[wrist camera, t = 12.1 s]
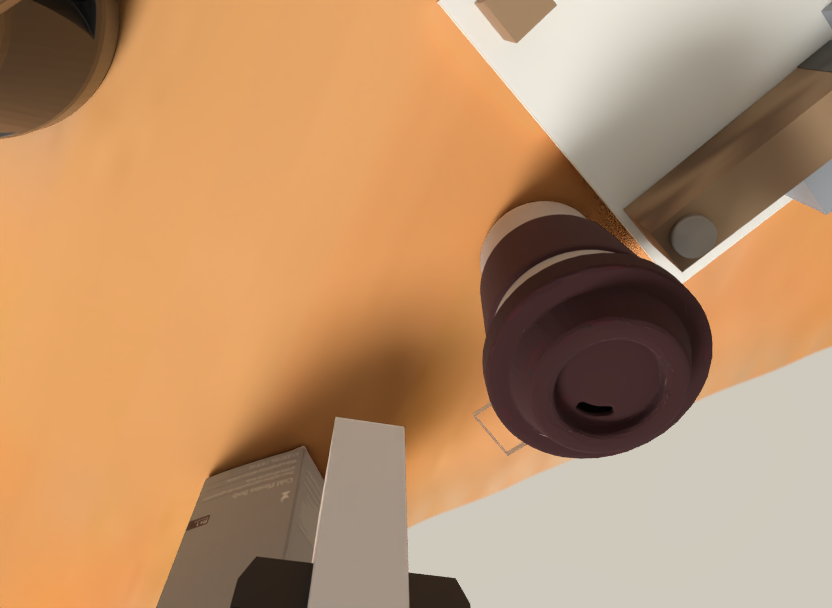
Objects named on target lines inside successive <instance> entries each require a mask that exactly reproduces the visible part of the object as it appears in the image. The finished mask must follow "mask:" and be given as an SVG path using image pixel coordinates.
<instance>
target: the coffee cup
mask: <svg viewBox="0 0 832 608" xmlns="http://www.w3.org/2000/svg"><path fill="white" fill-rule="evenodd" d="M480 268H481V275H482V277H481V286H480V293H481V302H482V309H483V317H484V324H485V332H486V339H485V344H484V349H483V374H484V379H485V383H486V387H487V391H488V395H489V399H490V402H491V404H492V407H493V409H494V411H495V413H496V414H497V416H498V417H499V419H500V420H501V422H502V423H503V424H504V425H505V427H506V428H507V429H508V430H509V431H510V432H511V433H512V434H513V435H514V436H516V437H517V438H518V439H520V440H521V441H523V442H524V443H526V444H527V445H529V446H531V447H533V448H535V449H538V450H540V451H543V452H545V453H549V454H552V455H556V456H560V457H568V458H600V457H606V456H612V455H616V454H620V453H623V452H627V451H629V450H632V449H634V448H636V447H639V446H641V445H643V444H646V443H648V442H649V441H651V440H653V439H654V438H656V437H658V436H659V435H661V434H663V433H664V432H665V431H667V430H668V429H669V428H670V427H671V426H673V425H674V424H675V423H676V422H678V420H679V419H680V418H681V417H682V416H683V415H684V414H685V412H686V411H687V410H688V409H689V408H690V407H691V406H692V404H693V403H694V401H695V400H696V398H697V397H698V395H699V393H700V392H701V390H702V388H703V386H704V384H705V381H706V379H707V377H708V373H709V368H710V364H711V360H712V335H711V330H710V326H709V322H708V320H707V317H706V314H705V312H704V311H703V309H702V307H701V305H700V304H699V302H698V301H697V299H696V298H695V297H694V296H693V295H692V294H691V293H690V291H689V290H688V289H687V288H686V287H685V286H684V285H683V284H682V283H681V282H680V281H679V280H678V279H677V278H676V277H675V276H673V275H672V274H671V273H669V272H668V271H667V270H665V269H664V268H662V267H661V266H659V265H657V264H655V263H653V262H651V261H648V260H645V259H642V258H640V257H638V256H637V255H636V254H634V253H633V252H632V251H631V250H630V249H628V248H627V247H626V246H625V245H624V244H623V243H621V242H620V241H619V240H618V239H617V238H615V237H614V236H613V235H612V234H611V233H609V232H608V231H607V230H606V229H604V228H603V227H602V226H600V225H599V224H597V223H595V222H593V221H591V220H589V219H587V218H586V217H585V216H583V215H582V214H581V213H580V212H578V211H577V210H575V209H574V208H572V207H570V206H568V205H565V204H562V203H558V202H552V201H536V202H531V203H526V204H524V205H521V206H518V207H516V208H514V209H513V210H511V211H509V212H507V213H506V214H505V215H504V216H502V217H501V218H500V219H499V220H498V221H497V222H496V223H495V224H494V225H493V227H492V228H491V229H490V231H489V233H488V234H487V236H486V238H485V240H484V243H483V246H482V250H481V255H480Z"/></svg>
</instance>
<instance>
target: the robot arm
mask: <svg viewBox="0 0 832 608" xmlns="http://www.w3.org/2000/svg"><path fill="white" fill-rule="evenodd" d="M119 22H120V3H119V0H0V139H4V138H11V137H16V136H20V135H23V134H27V133H30V132H33V131H36V130H39V129H42V128H45V127H48V126H50V125H53V124H55V123H57V122H59V121H61V120H63V119H65V118H66V117H68V116H70V115H71V114H72V113H74V112H75V111H76V110H78V109H79V108H80V107H81V106H82V105H83V104H85V103H86V102H87V100H88V99H89V98H90V97H91V96H92V95H93V94H94V92H95V91H96V90H97V88H98V87H99V85H100V84H101V82H102V81H103V79H104V77H105V75H106V73H107V71H108V69H109V66H110V64H111V62H112V59H113V55H114V52H115V48H116V44H117V39H118V33H119ZM407 542H408V540H407V502H406V463H405V427H404V426H397V425H390V424H383V423H376V422H369V421H362V420H355V419H348V418H341V417H335V423H334V429H333V435H332V441H331V446H330V452H329V458H328V464H327V470H326V476H325V482H324V488H323V494H322V500H321V505H320V511H319V517H318V524H317V531H316V538H315V544H314V551H313V558H312V563H308V562H300V561H291V560H283V559H275V558H266V557H258V556H256V557H255V559H254V560H253V561H252V562H251V563H250V565H249V566H248V567H247V568H246V569H245V571H244V572H243V573H242V574H241V575H240V577H239V578H238V579H237V583H236V587H235V590H234V594H233V598H232V601H231V605H230V608H470V603H469V601H468V599H467V598H466V596H465V594H464V592H463V591H462V589H461V587H460V585H459V584H458V582H457V580H456V579H455V578H449V577H440V576H432V575H424V574H414V573H408V543H407Z"/></svg>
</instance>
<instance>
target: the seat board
mask: <svg viewBox="0 0 832 608" xmlns="http://www.w3.org/2000/svg"><path fill="white" fill-rule="evenodd" d="M437 3H438V4H439V5H440V6H441V8H442V9H443V10H444V11H445V12H446V14H447V15H448V16H449V17H450V18H451V20H452V21H453V22H454V23H455V24H456V26H457V27H458V28H459V29H460V30H461V32H462V33H463V34H464V35H465V36H466V38H467V39H468V40H469V41H470V42H471V44H472V45H473V46H474V47H475V48H476V50H477V51H478V52H479V53H480V55H481V56H482V57H483V58H484V59H485V61H486V62H487V63H488V64H489V65H490V67H491V68H492V69H493V70H494V71H495V73H496V74H497V75H498V76H499V77H500V79H501V80H502V81H503V82H504V83H505V85H506V86H507V87H508V88H509V89H510V91H511V92H512V93H513V94H514V95H515V97H516V98H517V99H518V100H519V101H520V103H521V104H522V105H523V106H524V107H525V109H526V110H527V111H528V112H529V113H530V115H531V116H532V117H533V118H534V119H535V121H536V122H537V123H538V124H539V125H540V127H541V128H542V129H543V130H544V131H545V133H546V134H547V135H548V136H549V137H550V139H551V140H552V141H553V142H554V143H555V145H556V146H557V147H558V148H559V149H560V151H561V152H562V153H563V154H564V155H565V157H566V158H567V159H568V160H569V161H570V163H571V164H572V165H573V166H574V167H575V169H576V170H577V171H578V172H579V173H580V175H581V176H582V177H583V178H584V179H585V181H586V182H587V183H588V184H589V185H590V187H591V188H592V189H593V190H594V192H595V193H596V194H597V195H598V196H599V198H600V199H601V200H602V201H603V202H604V204H605V205H606V206H607V207H608V208H609V210H610V211H611V212H612V213H613V214H614V216H615V217H616V218H617V219H618V220H619V222H620V223H621V224H622V225H623V226H624V228H625V229H626V230H627V231H628V232H629V234H630V235H631V236H632V237H633V238H634V240H635V241H636V242H637V243H638V244H639V246H640V247H641V248H642V249H643V250H644V252H645V253H646V254H647V255H648V256H649V258H650V259H651V260H652V261H653V262H654V263H655V264H657V265H659V266H661V267H662V268H664V269H665V270H667V271H668V272H669V273H671V274H672V275H673V276H675V277H676V278H677V279H678V280H679V281H680V282H681V283H682V284H683V283H684V282H685V281H687V280H688V279H689V278H691V277H692V276H693V275H694V274H696V273H697V272H698V271H700V270H701V269H702V268H704V267H705V266H706V265H708V264H709V263H710V262H711V261H713V260H714V259H715V258H717V257H718V256H719V255H721V254H722V253H723V252H725V251H726V250H727V249H728V248H730V247H731V246H732V245H734V244H735V243H736V242H738V241H739V240H740V239H742V238H743V237H744V236H745V235H747V234H748V233H749V232H751V231H752V230H753V229H755V228H756V227H757V226H759V225H760V224H761V223H762V222H764V221H765V220H766V219H768V218H769V217H770V216H772V215H773V214H774V213H776V212H777V211H778V210H779V209H781V208H782V207H783V206H785V205H786V204H787V203H789V202H790V201H791V200H793V199H794V200H796V201H799V202H801V203H803V204H805V205H807V206H809V207H811V208H813V209H816V210H818V211H820V212H822V213H824V214H826V215H827V214H829V213H830V212H831V211H832V159H831V160H830V161H828V162H827V163H826V164H824V165H823V166H822V167H821V168H819V169H818V170H817V171H815V172H814V173H813V174H811V175H810V176H809V177H807V178H806V179H805V180H803V181H802V182H801V183H799V184H798V185H797V186H795V187H794V188H793V189H792V190H790V191H789V192H788V193H786V194H785V195H784V196H782V197H781V198H780V199H778V200H777V201H776V202H774V203H773V204H772V205H770V206H769V207H768V208H767V209H765V210H764V211H763V212H761V213H760V214H759V215H757V216H756V217H755V218H753V219H752V220H751V221H749V222H748V223H747V224H745V225H744V226H743V227H742V228H740V229H739V230H738V231H736V232H735V233H734V234H732V235H731V236H730V237H728V238H727V239H726V240H724V241H723V242H722V243H720V244H719V245H718V246H717V247H715V248H714V249H713V250H711V251H710V252H709V253H707V254H706V255H705V256H703V257H702V258H701V259H699V260H698V261H697V262H695V263H694V264H693V265H692V266H690V267H689V268H688V269H686V270H685V271H684V272H681V271H680V270H679V269H678V268H677V267H676V266H675V265H673V264H672V263H671V262H670V261H669V260H668V259H667V258H666V257H665V256H663V255H662V254H661V253H660V252H659V251H658V250H657V249H656V248H655V247H653V246H652V245H651V243H650V242H649V241H648V240H647V238H646V237H645V236H644V235H643V233H642V232H641V231H640V230H639V228H638V227H637V226H636V225H635V224H634V222H633V221H632V220H631V219H630V217H629V216H628V215H627V214H626V212H625V211H624V210H623V209H624V208H626V207H627V206H628V205H629V204H631V203H632V202H633V201H634V200H635V199H637V198H638V197H639V196H640V195H642V194H643V193H644V192H645V191H647V190H648V189H649V188H650V187H651V186H653V185H654V184H655V183H656V182H658V181H659V180H660V179H661V178H663V177H664V176H665V175H666V174H667V173H669V172H670V171H671V170H672V169H674V168H675V167H676V166H677V165H679V164H680V163H681V162H682V161H684V160H685V159H686V158H687V157H688V156H690V155H691V154H692V153H693V152H695V151H696V150H697V149H698V148H700V147H701V146H702V145H703V144H704V143H706V142H707V141H708V140H709V139H711V138H712V137H713V136H714V135H716V134H717V133H718V132H719V131H721V130H722V129H723V128H724V127H725V126H727V125H728V124H729V123H730V122H732V121H733V120H734V119H735V118H737V117H738V116H739V115H740V114H741V113H743V112H744V111H745V110H746V109H748V108H749V107H750V106H751V105H753V104H754V103H755V102H756V101H757V100H759V99H760V98H761V97H762V96H764V95H765V94H766V93H767V92H769V91H770V90H771V89H772V88H774V87H775V86H776V85H777V84H778V83H780V82H781V81H782V80H783V79H785V78H786V77H787V76H788V75H790V74H791V73H792V72H793V71H794V70H796V69H797V66H799V65H800V64H801V63H802V62H804V61H805V60H806V59H807V58H809V57H810V56H811V55H812V54H813V53H815V52H816V51H817V50H818V49H820V48H821V47H822V46H823V45H825V44H826V43H827V42H828V41H829V40H832V0H439V1H438V2H437Z"/></svg>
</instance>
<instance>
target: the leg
mask: <svg viewBox="0 0 832 608" xmlns="http://www.w3.org/2000/svg"><path fill="white" fill-rule="evenodd" d="M831 159H832V40H829V41H828V42H827V43H826V44H825V45H823V46H822V47H821V48H820V49H818V50H817V51H816V52H815V53H813V54H812V55H811V56H810V57H809V58H807V59H806V60H805V61H804V62H802V63H801V64H800V65H799V66H797V69H796V70H794V71H793V72H792V73H791V74H790V75H788V76H787V77H786V78H785V79H783V80H782V81H781V82H780V83H778V84H777V85H776V86H775V87H774V88H772V89H771V90H770V91H769V92H767V93H766V94H765V95H764V96H762V97H761V98H760V99H759V100H757V101H756V102H755V103H754V104H753V105H751V106H750V107H749V108H748V109H746V110H745V111H744V112H743V113H741V114H740V115H739V116H738V117H737V118H735V119H734V120H733V121H732V122H730V123H729V124H728V125H727V126H725V127H724V128H723V129H722V130H721V131H719V132H718V133H717V134H716V135H714V136H713V137H712V138H711V139H709V140H708V141H707V142H706V143H704V144H703V145H702V146H701V147H700V148H698V149H697V150H696V151H695V152H693V153H692V154H691V155H690V156H688V157H687V158H686V159H685V160H684V161H682V162H681V163H680V164H679V165H677V166H676V167H675V168H674V169H672V170H671V171H670V172H669V173H667V174H666V175H665V176H664V177H663V178H661V179H660V180H659V181H658V182H656V183H655V184H654V185H653V186H651V187H650V188H649V189H648V190H647V191H645V192H644V193H643V194H642V195H640V196H639V197H638V198H637V199H635V200H634V201H633V202H632V203H631V204H629V205H628V206H627V207H626V208H624V209H623V210H624V211H625V212H626V214H627V215H628V216H629V217H630V219H631V220H632V221H633V222H634V224H635V225H636V226H637V227H638V228H639V230H640V231H641V232H642V233H643V235H644V236H645V237H646V238H647V240H648V241H649V242H650V243H651V245H652V246H653V247H655V248H656V249H657V250H658V251H659V252H660V253H661V254H662V255H663V256H665V257H666V258H667V259H668V260H669V261H670V262H671V263H672V264H673V265H675V266H676V267H677V268H678V269H679V270H680V271H681V272H684V271H685V270H686V269H688V268H689V267H690V266H692V265H693V264H694V263H695V262H697V261H698V260H699V259H701V258H702V257H703V256H705V255H706V254H707V253H709V252H710V251H711V250H713V249H714V248H715V247H717V246H718V245H719V244H720V243H722V242H723V241H724V240H726V239H727V238H728V237H730V236H731V235H732V234H734V233H735V232H736V231H738V230H739V229H740V228H742V227H743V226H744V225H745V224H747V223H748V222H749V221H751V220H752V219H753V218H755V217H756V216H757V215H759V214H760V213H761V212H763V211H764V210H765V209H767V208H768V207H769V206H770V205H772V204H773V203H774V202H776V201H777V200H778V199H780V198H781V197H782V196H784V195H785V194H786V193H788V192H789V191H790V190H792V189H793V188H794V187H795V186H797V185H798V184H799V183H801V182H802V181H803V180H805V179H806V178H807V177H809V176H810V175H811V174H813V173H814V172H815V171H817V170H818V169H819V168H821V167H822V166H823V165H824V164H826V163H827V162H828V161H830V160H831Z"/></svg>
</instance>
